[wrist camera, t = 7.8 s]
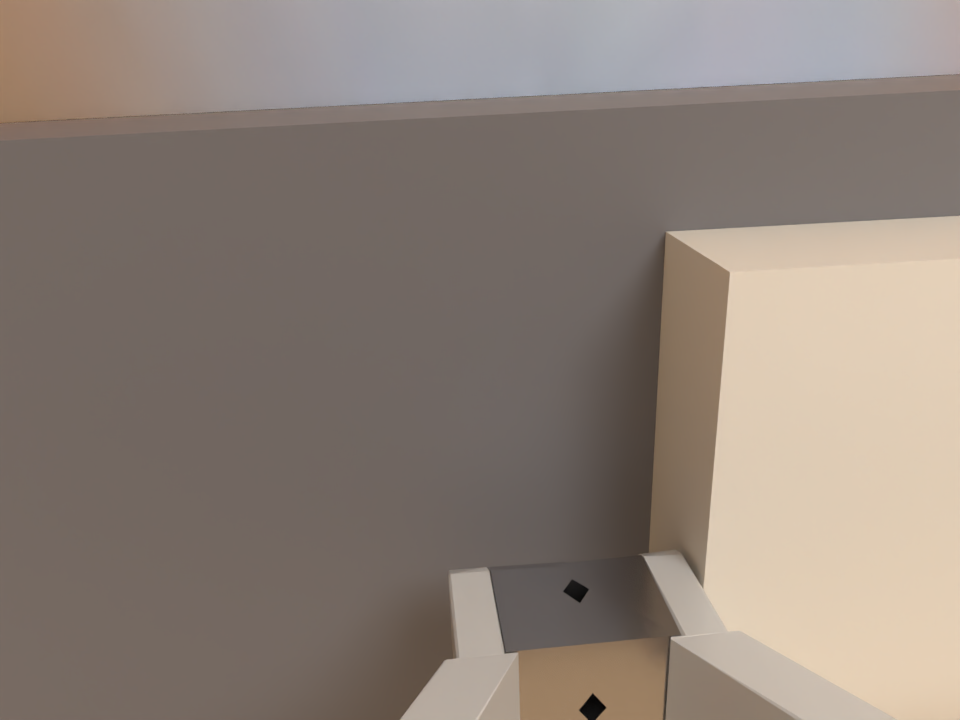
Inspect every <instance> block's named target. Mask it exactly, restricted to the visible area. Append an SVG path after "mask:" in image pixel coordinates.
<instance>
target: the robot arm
mask: <svg viewBox="0 0 960 720" xmlns="http://www.w3.org/2000/svg"><path fill="white" fill-rule="evenodd" d="M448 580H449V597H450V614H451V631H452V648H453V659H447V660H444V661H443V663H442V664H441V665H440V667H439V668H438V669H437V671H436V672H435V673H434V675H433V676H432V677H431V679H430V680H429V681H428V683H427V684H426V685H425V687H424V688H423V689H422V691H421V692H420V693H419V695H418V696H417V697H416V699H415V700H414V701H413V703H412V704H411V705H410V707H409V708H408V709H407V711H406V712H405V713H404V715H403V716H402V717H401V719H400V720H897V719H895V718H894V717H892V716H890V715H888V714H886V713H885V712H883V711H881V710H879V709H878V708H876V707H874V706H872V705H871V704H869V703H867V702H865V701H863V700H862V699H860V698H858V697H856V696H855V695H853V694H851V693H849V692H848V691H846V690H844V689H842V688H840V687H839V686H837V685H835V684H833V683H832V682H830V681H828V680H826V679H825V678H823V677H821V676H819V675H817V674H816V673H814V672H812V671H810V670H809V669H807V668H805V667H803V666H801V665H800V664H798V663H796V662H794V661H793V660H791V659H789V658H787V657H786V656H784V655H782V654H780V653H778V652H777V651H775V650H773V649H771V648H770V647H768V646H766V645H764V644H763V643H761V642H759V641H757V640H755V639H754V638H752V637H750V636H748V635H747V634H745V633H743V632H741V631H730V632H728V630H727V629H726V627H725V625H724V623H723V622H722V620H721V618H720V617H719V615H718V613H717V612H716V610H715V608H714V607H713V605H712V603H711V602H710V600H709V598H708V597H707V595H706V593H705V591H704V590H703V588H702V586H701V585H700V583H699V581H698V580H697V578H696V576H695V575H694V573H693V571H692V570H691V568H690V566H689V564H688V563H687V561H686V559H685V558H684V556H683V554H682V553H681V552H679V551H677V550H668V551H660V552H651V553H643V554H638V555H636V556H626V557H616V558H606V559H596V560H586V561H575V562H554V563H539V564H525V565H510V566H495V567H489V569H487V567H482V568H471V569H459V570H449V575H448Z"/></svg>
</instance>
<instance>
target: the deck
mask: <svg viewBox="0 0 960 720" xmlns="http://www.w3.org/2000/svg"><path fill="white" fill-rule="evenodd" d="M945 216H960V74H956V75H937V76H917V77H897V78H878V79H858V80H838V81H819V82H799V83H780V84H760V85H740V86H721V87H701V88H681V89H662V90H642V91H623V92H603V93H583V94H564V95H544V96H524V97H505V98H485V99H466V100H446V101H426V102H407V103H387V104H367V105H348V106H328V107H309V108H289V109H269V110H250V111H230V112H210V113H191V114H171V115H152V116H132V117H112V118H93V119H73V120H53V121H34V122H14V123H0V720H400V719H401V717H402V716H403V715H404V713H405V712H406V711H407V709H408V708H409V707H410V705H411V704H412V703H413V701H414V700H415V699H416V697H417V696H418V695H419V693H420V692H421V691H422V689H423V688H424V687H425V685H426V684H427V683H428V681H429V680H430V679H431V677H432V676H433V675H434V673H435V672H436V671H437V669H438V668H439V667H440V665H441V664H442V663H443V661H444V660H447V659H453V648H452V631H451V614H450V597H449V580H448V575H449V570H459V569H471V568H482V567H487V569H489V567H495V566H510V565H525V564H539V563H554V562H575V561H586V560H596V559H606V558H616V557H626V556H636V555H638V554H643V553H649V539H650V520H651V501H652V483H653V464H654V445H655V426H656V407H657V388H658V369H659V350H660V331H661V312H662V293H663V275H664V256H665V237H666V232H667V231H686V230H704V229H723V228H741V227H760V226H778V225H797V224H815V223H834V222H852V221H871V220H889V219H908V218H926V217H945Z"/></svg>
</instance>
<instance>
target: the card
mask: <svg viewBox="0 0 960 720" xmlns="http://www.w3.org/2000/svg"><path fill="white" fill-rule="evenodd" d="M668 550H677V551H679V552H681V553H682V554H683V556H684V558H685V559H686V561H687V563H688V564H689V566H690V568H691V570H692V571H693V573H694V575H695V576H696V578H697V580H698V581H699V583H700V585H701V586H702V588H703V590H704V591H705V593H706V595H707V597H708V598H709V600H710V602H711V603H712V605H713V607H714V608H715V610H716V612H717V613H718V615H719V617H720V618H721V620H722V622H723V623H724V625H725V627H726V629H727V630H728V632H730V631H741V632H743V633H745V634H747V635H748V636H750V637H752V638H754V639H755V640H757V641H759V642H761V643H763V644H764V645H766V646H768V647H770V648H771V649H773V650H775V651H777V652H778V653H780V654H782V655H784V656H786V657H787V658H789V659H791V660H793V661H794V662H796V663H798V664H800V665H801V666H803V667H805V668H807V669H809V670H810V671H812V672H814V673H816V674H817V675H819V676H821V677H823V678H825V679H826V680H828V681H830V682H832V683H833V684H835V685H837V686H839V687H840V688H842V689H844V690H846V691H848V692H849V693H851V694H853V695H855V696H856V697H858V698H860V699H862V700H863V701H865V702H867V703H869V704H871V705H872V706H874V707H876V708H878V709H879V710H881V711H883V712H885V713H886V714H888V715H890V716H892V717H894V718H895V719H897V720H960V216H945V217H926V218H908V219H889V220H871V221H852V222H834V223H815V224H797V225H778V226H760V227H741V228H723V229H704V230H686V231H667V232H666V237H665V256H664V275H663V293H662V312H661V331H660V350H659V369H658V388H657V407H656V426H655V445H654V464H653V483H652V501H651V520H650V539H649V553H651V552H660V551H668Z"/></svg>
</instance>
